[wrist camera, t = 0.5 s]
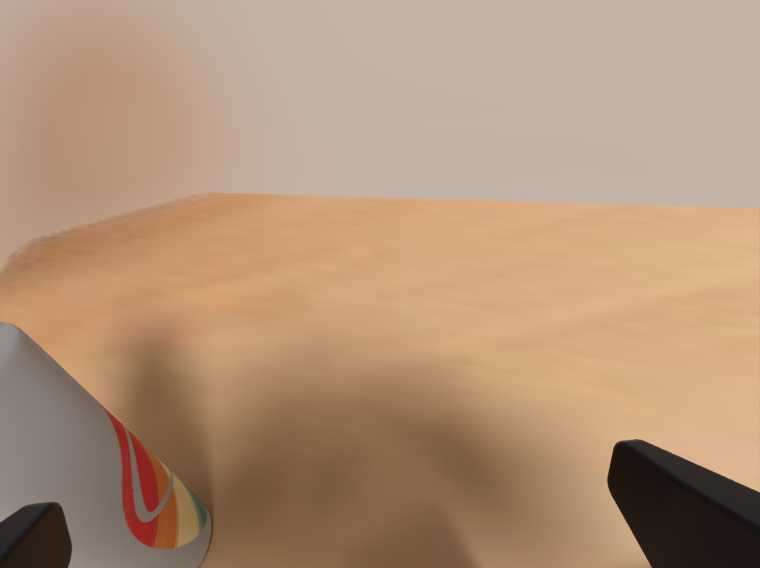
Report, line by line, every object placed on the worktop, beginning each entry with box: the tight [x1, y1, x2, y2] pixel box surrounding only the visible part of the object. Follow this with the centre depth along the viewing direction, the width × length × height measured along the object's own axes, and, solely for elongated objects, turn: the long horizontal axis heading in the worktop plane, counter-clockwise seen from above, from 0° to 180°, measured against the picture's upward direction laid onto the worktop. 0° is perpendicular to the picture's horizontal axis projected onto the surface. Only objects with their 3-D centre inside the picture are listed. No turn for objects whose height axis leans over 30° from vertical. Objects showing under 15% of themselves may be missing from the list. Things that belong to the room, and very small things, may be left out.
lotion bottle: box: [0, 322, 212, 568], centre depth 19 cm, size 6×6×20 cm
